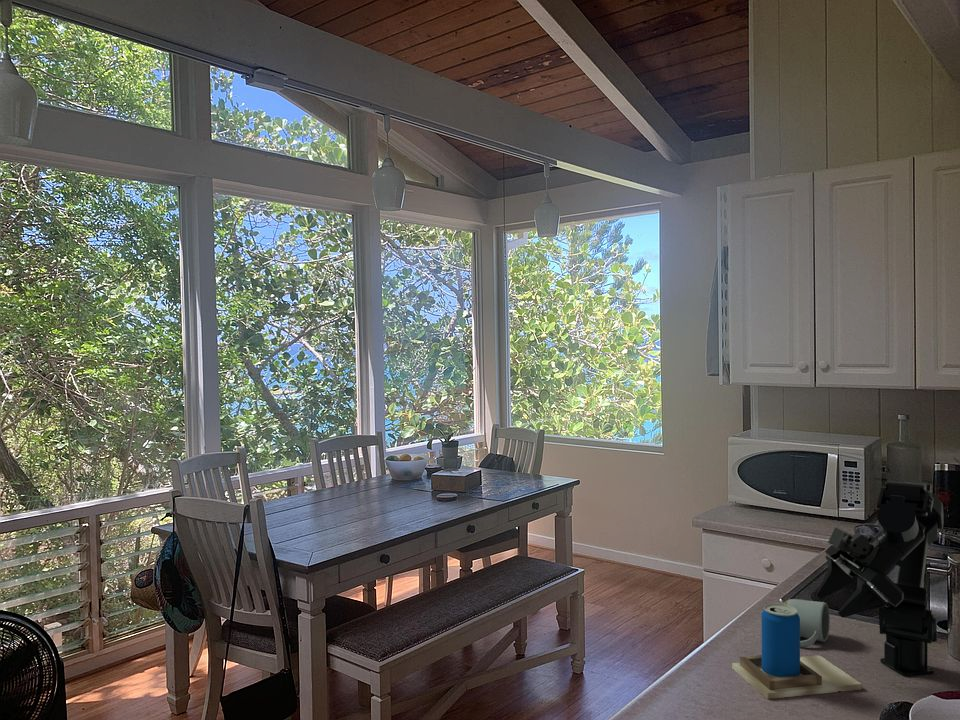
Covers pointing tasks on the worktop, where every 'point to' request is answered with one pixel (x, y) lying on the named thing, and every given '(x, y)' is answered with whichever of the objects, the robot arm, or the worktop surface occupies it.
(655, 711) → the worktop surface
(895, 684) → the worktop surface
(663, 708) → the worktop surface
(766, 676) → the can holder
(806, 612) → the ceramic mug
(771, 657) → the beverage can
